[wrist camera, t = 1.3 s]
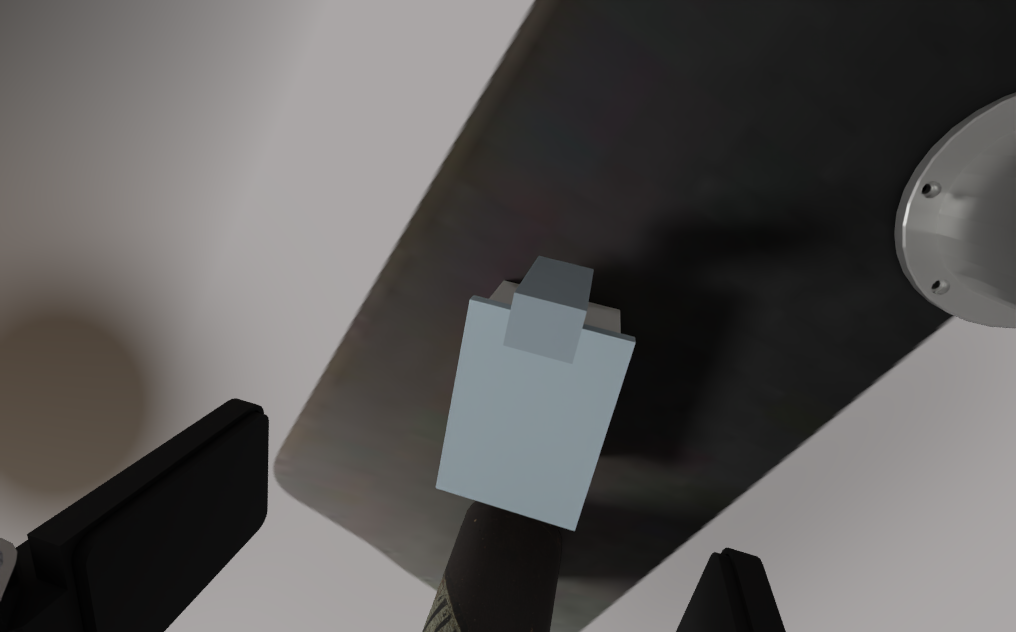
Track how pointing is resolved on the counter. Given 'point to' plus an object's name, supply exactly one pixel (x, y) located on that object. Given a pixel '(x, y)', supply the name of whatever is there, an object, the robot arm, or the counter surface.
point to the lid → (533, 397)
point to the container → (498, 575)
